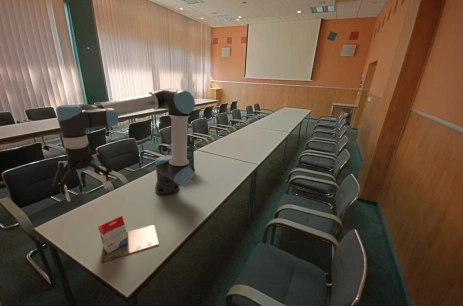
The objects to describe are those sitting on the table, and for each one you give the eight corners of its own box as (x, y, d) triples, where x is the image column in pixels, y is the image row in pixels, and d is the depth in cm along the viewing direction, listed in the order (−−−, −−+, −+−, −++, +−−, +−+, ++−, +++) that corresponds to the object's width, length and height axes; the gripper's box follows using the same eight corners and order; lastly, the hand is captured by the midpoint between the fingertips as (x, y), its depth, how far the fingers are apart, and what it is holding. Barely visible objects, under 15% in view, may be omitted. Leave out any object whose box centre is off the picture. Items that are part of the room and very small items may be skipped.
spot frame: (128, 232, 98) (127, 231, 98) (129, 254, 86) (129, 253, 86) (103, 239, 93) (103, 238, 93) (101, 262, 82) (101, 261, 82)
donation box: (194, 171, 164) (193, 137, 155) (177, 177, 153) (175, 141, 143) (182, 165, 174) (181, 133, 165) (165, 170, 163) (163, 136, 153)
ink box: (123, 237, 94) (118, 210, 89) (128, 242, 91) (123, 215, 86) (102, 248, 88) (96, 220, 83) (107, 254, 85) (101, 225, 80)
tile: (154, 225, 103) (154, 224, 103) (159, 244, 92) (158, 243, 91) (128, 232, 98) (127, 231, 98) (129, 254, 86) (129, 252, 86)
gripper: (108, 138, 90) (115, 180, 98) (32, 150, 73) (48, 202, 80) (115, 142, 86) (122, 186, 93) (35, 156, 68) (52, 210, 75)
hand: (88, 193), depth 87 cm, fingers open, 13 cm apart
